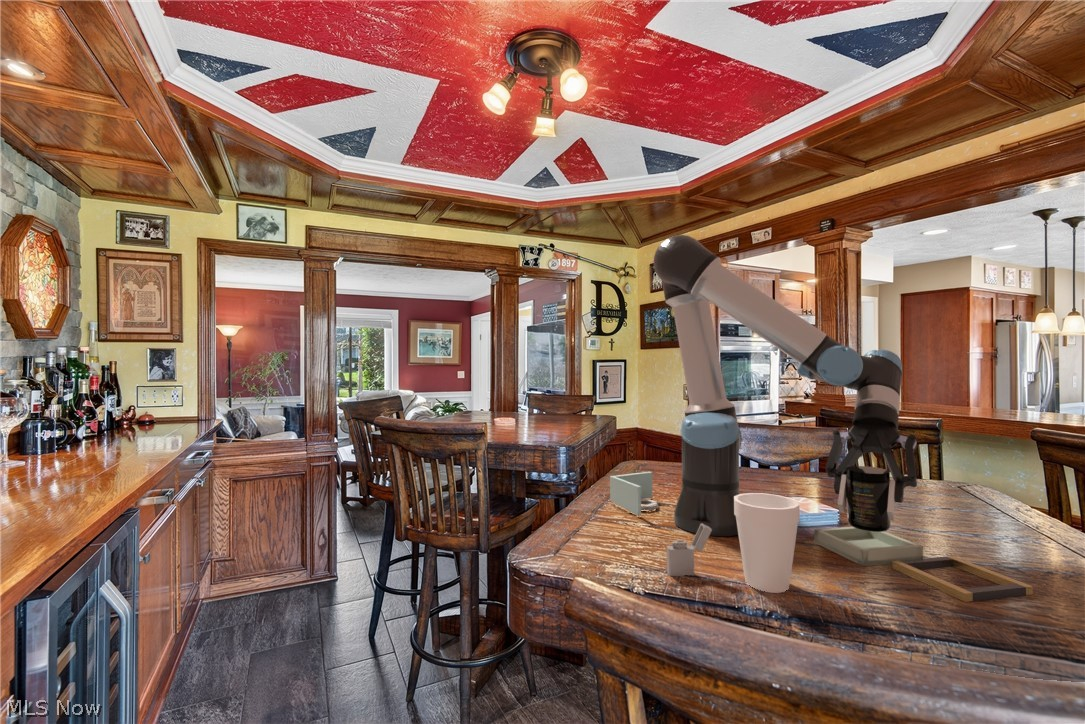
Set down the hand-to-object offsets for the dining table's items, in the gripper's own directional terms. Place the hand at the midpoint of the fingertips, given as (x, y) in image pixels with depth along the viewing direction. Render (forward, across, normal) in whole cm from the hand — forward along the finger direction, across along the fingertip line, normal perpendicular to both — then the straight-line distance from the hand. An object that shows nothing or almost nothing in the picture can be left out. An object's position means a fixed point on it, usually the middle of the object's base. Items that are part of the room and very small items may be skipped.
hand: (865, 512), depth 88 cm
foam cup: (+21, +10, +10) cm, 26 cm away
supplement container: (0, 0, -5) cm, 5 cm away
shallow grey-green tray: (+3, 0, -8) cm, 9 cm away
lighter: (+24, +21, +13) cm, 35 cm away
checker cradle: (+7, -12, -4) cm, 15 cm away
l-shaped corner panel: (+4, +46, -8) cm, 47 cm away
